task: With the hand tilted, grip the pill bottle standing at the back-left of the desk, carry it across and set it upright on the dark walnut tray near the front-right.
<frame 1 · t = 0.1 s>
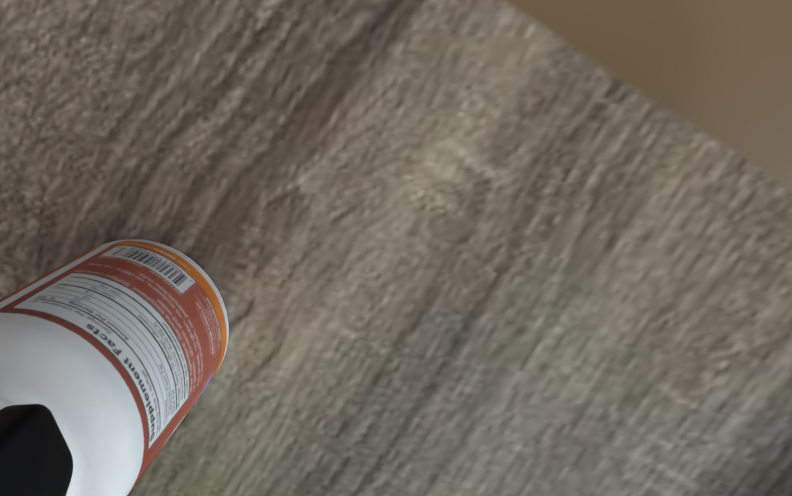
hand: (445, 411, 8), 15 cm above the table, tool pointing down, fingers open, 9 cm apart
pill bottle: (151, 316, 25), on the table
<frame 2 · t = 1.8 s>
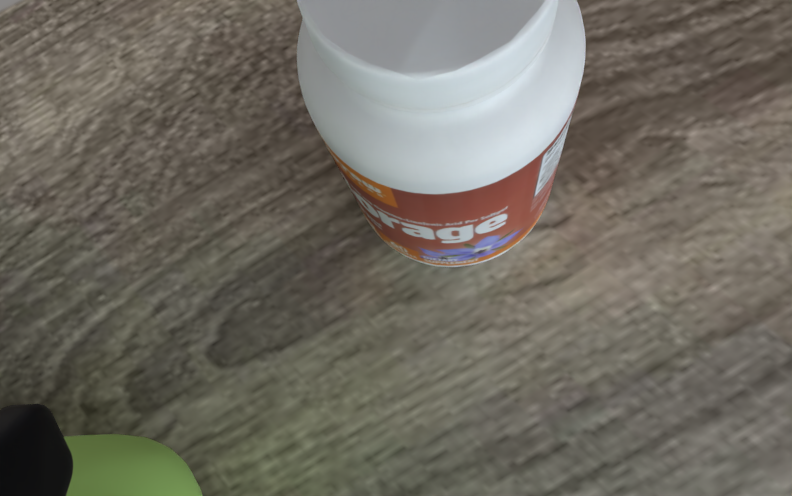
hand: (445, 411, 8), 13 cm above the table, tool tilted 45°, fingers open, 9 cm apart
pill bottle: (454, 180, 23), on the table
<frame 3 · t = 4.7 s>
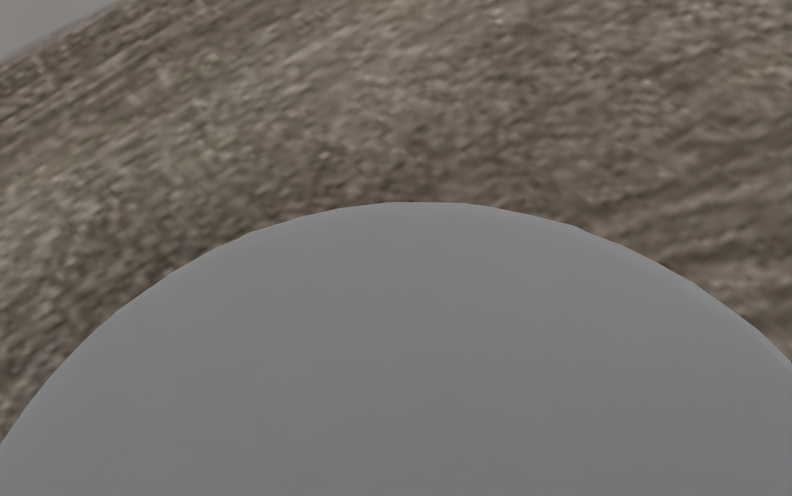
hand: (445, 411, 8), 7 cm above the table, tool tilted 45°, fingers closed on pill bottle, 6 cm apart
pill bottle: (468, 494, 14), on the table, touching gripper
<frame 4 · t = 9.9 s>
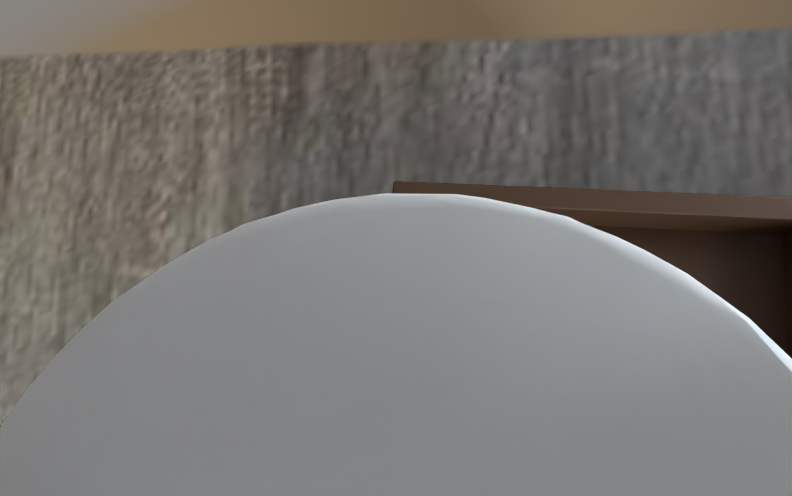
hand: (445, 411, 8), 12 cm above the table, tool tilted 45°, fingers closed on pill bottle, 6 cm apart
pill bottle: (467, 492, 14), point 6 cm above the table, touching gripper
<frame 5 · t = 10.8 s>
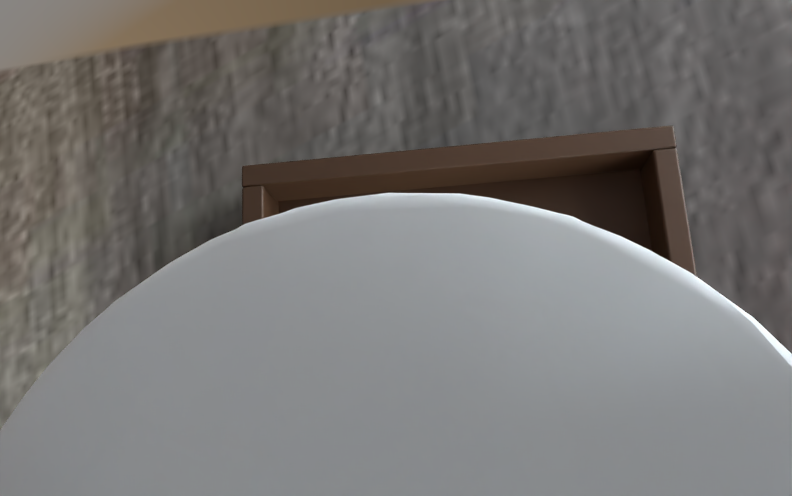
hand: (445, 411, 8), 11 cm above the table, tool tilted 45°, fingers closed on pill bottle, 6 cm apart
pill bottle: (468, 492, 14), point 4 cm above the table, touching gripper
tray: (475, 467, 18), on the table
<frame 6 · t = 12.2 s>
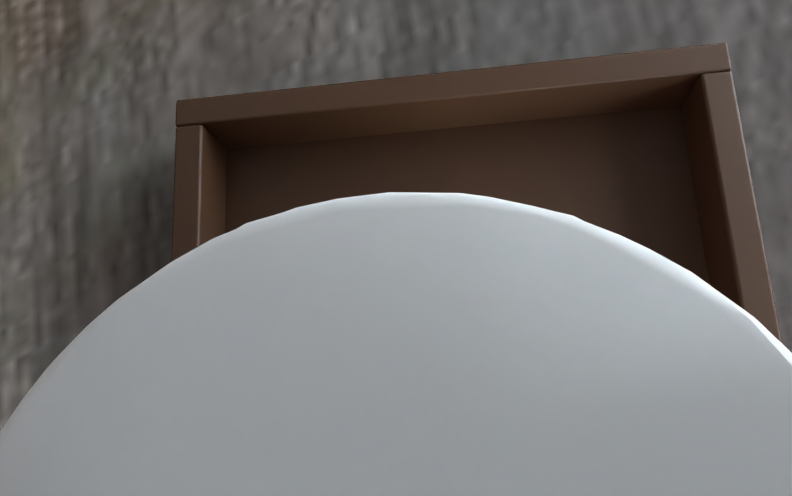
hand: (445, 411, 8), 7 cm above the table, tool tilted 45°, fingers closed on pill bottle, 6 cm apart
pill bottle: (468, 493, 14), resting on tray, touching gripper
tray: (471, 484, 14), on the table
when the fingers open (7 cm above the table, at t = 12.5 s): pill bottle stays where it is, resting on tray.
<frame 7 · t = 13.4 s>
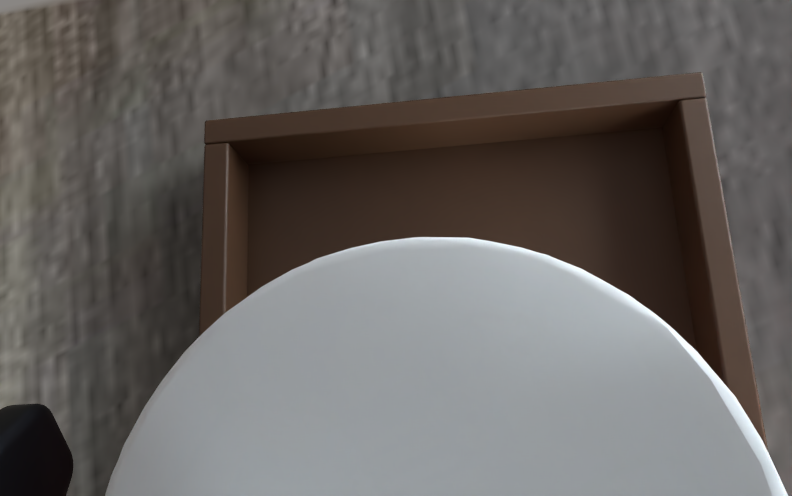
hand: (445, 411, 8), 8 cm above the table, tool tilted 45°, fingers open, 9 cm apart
pill bottle: (469, 476, 15), resting on tray
tray: (471, 469, 15), on the table
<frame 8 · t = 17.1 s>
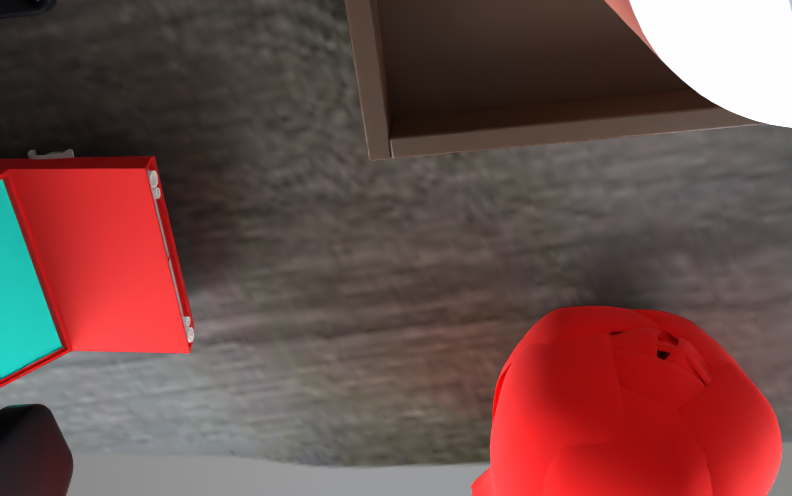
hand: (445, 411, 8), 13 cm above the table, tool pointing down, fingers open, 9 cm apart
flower: (662, 338, 18), point 4 cm above the table
toy car: (7, 239, 22), on the table
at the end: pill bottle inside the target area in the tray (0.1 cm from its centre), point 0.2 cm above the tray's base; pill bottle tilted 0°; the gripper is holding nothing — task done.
